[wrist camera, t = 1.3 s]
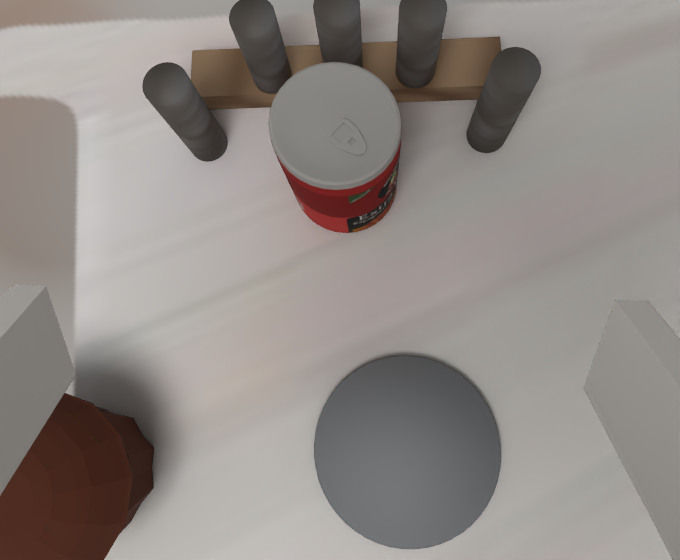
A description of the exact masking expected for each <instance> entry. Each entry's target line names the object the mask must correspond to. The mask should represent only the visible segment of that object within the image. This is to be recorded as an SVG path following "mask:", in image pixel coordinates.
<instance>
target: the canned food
mask: <svg viewBox="0 0 680 560" xmlns="http://www.w3.org/2000/svg"><path fill="white" fill-rule="evenodd" d="M401 129H402V125H401V118H400V112H399V108H398V105H397V103H396V100H395V97H394V96H393V94H392V93H391V91H390V90H389V88H388V87H387V86H386V85H385V84H384V83H383V82H382V81H381V80H380V79H379V78H378V77H377V76H375V75H374V74H372V73H371V72H370V71H368V70H366V69H363V68H361V67H359V66H356V65H352V64H348V63H341V62H327V63H319V64H316V65H313V66H310V67H307V68H305V69H303V70H301V71H299V72H297V73H296V74H295V75H293V76H292V77H291V78H290V79H288V80H287V81H286V82H285V84H284V85H283V86H282V87H281V88H280V89H279V91H278V93H277V95H276V96H275V98H274V100H273V103H272V106H271V110H270V115H269V131H270V137H271V142H272V145H273V148H274V151H275V153H276V155H277V158H278V161H279V163H280V165H281V167H282V169H283V171H284V173H285V175H286V177H287V180H288V182H289V184H290V186H291V188H292V190H293V192H294V194H295V196H296V198H297V201H298V203H299V204H300V206H301V208H302V210H303V211H304V212H305V213H306V215H307V216H308V217H309V218H310V219H311V220H312V221H314V222H315V223H316V224H318V225H320V226H322V227H324V228H326V229H328V230H332V231H335V232H343V233H349V232H357V231H361V230H364V229H367V228H369V227H371V226H373V225H374V224H376V223H377V222H378V221H379V220H381V219H382V218H383V217H384V216H385V214H386V213H387V212H388V211H389V209H390V207H391V205H392V203H393V200H394V196H395V192H396V183H397V174H398V165H399V156H400V147H401Z"/></svg>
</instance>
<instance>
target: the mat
mask: <svg viewBox="0 0 680 560" xmlns="http://www.w3.org/2000/svg"><path fill="white" fill-rule="evenodd" d="M314 458H315V466H316V471H317V475H318V479H319V482H320V485H321V487H322V490H323V492H324V494H325V496H326V498H327V500H328V501H329V503H330V505H331V506H332V508H333V509H334V510H335V512H336V513H337V514H338V515H339V516H340V518H341V519H342V520H343V521H344V522H345V523H346V524H347V525H349V526H350V527H351V528H352V529H353V530H355V531H356V532H358V533H359V534H361V535H362V536H364V537H366V538H367V539H370V540H372V541H374V542H376V543H379V544H382V545H385V546H389V547H393V548H400V549H420V548H428V547H432V546H435V545H439V544H442V543H444V542H446V541H449V540H451V539H453V538H454V537H456V536H458V535H459V534H461V533H462V532H464V531H465V530H466V529H467V528H468V527H470V526H471V525H472V524H473V523H474V522H475V521H476V520H477V519H478V517H479V516H480V515H481V514H482V512H483V511H484V509H485V508H486V506H487V505H488V503H489V501H490V499H491V497H492V495H493V493H494V490H495V487H496V484H497V481H498V476H499V471H500V462H501V449H500V440H499V435H498V430H497V427H496V424H495V421H494V418H493V416H492V414H491V411H490V409H489V407H488V406H487V404H486V402H485V401H484V399H483V398H482V396H481V395H480V394H479V392H478V391H477V390H476V389H475V388H474V386H472V385H471V384H470V383H469V382H468V381H467V380H466V379H465V378H464V377H462V376H461V375H460V374H458V373H457V372H456V371H454V370H452V369H451V368H449V367H447V366H445V365H443V364H440V363H438V362H435V361H433V360H429V359H425V358H421V357H413V356H396V357H389V358H384V359H380V360H377V361H374V362H371V363H369V364H367V365H364V366H363V367H361V368H359V369H358V370H356V371H354V372H353V373H352V374H350V375H349V376H348V377H347V378H345V379H344V380H343V381H342V382H341V383H340V384H339V385H338V386H337V388H336V389H335V390H334V392H333V393H332V394H331V396H330V397H329V399H328V400H327V402H326V404H325V406H324V408H323V410H322V412H321V415H320V417H319V420H318V424H317V428H316V433H315V441H314Z"/></svg>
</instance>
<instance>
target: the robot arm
mask: <svg viewBox="0 0 680 560" xmlns="http://www.w3.org/2000/svg"><path fill="white" fill-rule="evenodd" d="M75 375H76V374H75V371H74V368H73V365H72V362H71V359H70V356H69V353H68V350H67V347H66V344H65V341H64V338H63V335H62V332H61V329H60V326H59V323H58V320H57V317H56V314H55V311H54V308H53V305H52V302H51V299H50V296H49V293H48V290H47V287H46V286H34V285H12V286H11V288H10V289H9V290H8V291H7V292H6V293H5V294H4V295H3V296H2V297H1V298H0V495H1V494H2V492H3V490H4V489H5V487H6V486H7V484H8V482H9V481H10V479H11V478H12V476H13V474H14V473H15V471H16V470H17V468H18V466H19V465H20V463H21V462H22V460H23V458H24V457H25V455H26V454H27V452H28V450H29V449H30V447H31V446H32V444H33V442H34V441H35V439H36V438H37V436H38V434H39V433H40V431H41V430H42V428H43V426H44V425H45V423H46V422H47V420H48V418H49V417H50V415H51V414H52V412H53V410H54V409H55V407H56V406H57V404H58V402H59V401H60V399H61V398H62V396H63V394H64V393H65V391H66V390H67V388H68V386H69V385H70V383H71V382H72V380H73V379H74V377H75ZM583 388H584V390H585V392H586V394H587V396H588V398H589V400H590V402H591V404H592V406H593V407H594V409H595V411H596V413H597V415H598V417H599V419H600V421H601V423H602V425H603V427H604V429H605V431H606V432H607V434H608V436H609V438H610V440H611V442H612V444H613V446H614V448H615V450H616V452H617V454H618V455H619V457H620V459H621V461H622V463H623V465H624V467H625V469H626V471H627V473H628V475H629V477H630V478H631V480H632V482H633V484H634V486H635V488H636V490H637V492H638V494H639V496H640V498H641V500H642V502H643V503H644V505H645V507H646V509H647V511H648V513H649V515H650V517H651V519H652V521H653V523H654V525H655V526H656V528H657V530H658V532H659V534H660V536H661V538H662V540H663V542H664V544H665V546H666V548H667V550H668V551H669V553H670V555H671V557H672V559H673V560H680V339H679V337H678V336H677V335H676V334H675V332H674V331H673V330H672V329H671V328H670V326H669V325H668V324H667V323H666V322H665V320H664V319H663V318H662V317H661V316H660V314H659V313H658V312H657V311H656V309H655V308H654V307H653V306H652V305H651V303H650V302H649V301H620V300H615V303H614V306H613V308H612V311H611V314H610V317H609V319H608V322H607V325H606V327H605V330H604V333H603V336H602V338H601V341H600V344H599V346H598V349H597V352H596V355H595V357H594V360H593V363H592V365H591V368H590V371H589V374H588V376H587V379H586V382H585V385H584V387H583Z"/></svg>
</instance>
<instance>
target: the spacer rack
mask: <svg viewBox="0 0 680 560" xmlns="http://www.w3.org/2000/svg"><path fill="white" fill-rule="evenodd" d="M313 9H314V15H315V21H316V27H317V32H318V38H319V44H320V45H307V46H285V47H284V43H283V40H282V36H281V33H280V29H279V26H278V22H277V18H276V15H275V11H274V8H273V6H272V5H271V3H270V2H269V1H267V0H240V1H238V2H237V3H236V4H235V5H234V6H233V7H232V9H231V11H230V15H229V22H230V25H231V28H232V30H233V32H234V35H235V37H236V40H237V42H238V44H239V47H240V49H218V50H196V51H192V69H191V80H190V78H189V77H188V75H187V73H186V72H185V70H184V69H183V68H182V67H181V66H179V65H177V64H175V63H168V62H166V63H161V64H158V65H156V66H154V67H153V68H151V69H150V70H149V71H148V72H147V74H146V75H145V77H144V80H143V92H144V95H145V96H146V98H147V99H148V100H149V101H150V103H151V104H152V105H153V106H154V107H155V109H156V110H157V111H158V112H159V113H160V115H161V116H162V117H163V118H164V119H165V121H166V122H167V123H168V124H169V125H170V127H171V128H172V129H173V130H174V131H175V133H176V134H177V135H178V136H179V137H180V139H181V140H182V141H183V142H184V143H185V145H186V146H187V147H188V148H189V149H190V151H191V152H192V153H193V154H194V155H195V157H197V158H198V159H200V160H202V161H213V160H216V159H218V158H219V157H221V156H222V155H223V154H224V152H225V150H226V148H227V138H226V135H225V133H224V132H223V130H222V129H221V127H220V126H219V124H218V122H217V121H216V119H215V118H214V116H213V114H212V113H211V111H210V110H209V109H232V108H259V107H271V106H272V103H273V100H274V98H275V96H276V95H277V93H278V91H279V89H280V88H281V87H282V86H283V85H284V84H285V82H286V81H287V80H288V79H290V78H291V77H292V76H293V75H295V74H296V73H297V72H299V71H301V70H303V69H305V68H307V67H310V66H313V65H316V64H319V63H327V62H341V63H348V64H352V65H356V66H359V67H361V68H363V69H366V70H368V71H370V72H371V73H372V74H374V75H375V76H377V77H378V78H379V79H380V80H381V81H382V82H383V83H384V84H385V85H386V86H387V87H388V88H389V90H390V91H391V93H392V94H393V96H394V97H395V100H396V102H419V101H446V100H473V99H478V102H477V105H476V107H475V110H474V113H473V116H472V118H471V121H470V124H469V126H468V129H467V140H468V142H469V144H470V145H471V146H472V147H473V148H474V149H475V150H477V151H479V152H483V153H490V152H494V151H496V150H498V149H499V148H500V147H501V146H502V145H503V143H504V142H505V140H506V138H507V136H508V134H509V133H510V131H511V129H512V127H513V125H514V123H515V122H516V120H517V118H518V116H519V114H520V112H521V111H522V109H523V107H524V105H525V103H526V101H527V100H528V98H529V96H530V94H531V92H532V91H533V89H534V87H535V85H536V83H537V81H538V79H539V77H540V74H541V66H540V63H539V60H538V59H537V57H536V56H535V55H534V54H533V53H532V52H530V51H528V50H526V49H524V48H519V47H512V48H507V49H505V50H503V51H501V45H500V37H485V38H462V39H441V38H442V33H443V27H444V22H445V17H446V12H447V4H446V1H445V0H401V2H400V6H399V21H398V38H397V41H396V42H374V43H362V39H361V18H360V2H359V0H314V5H313Z"/></svg>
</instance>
